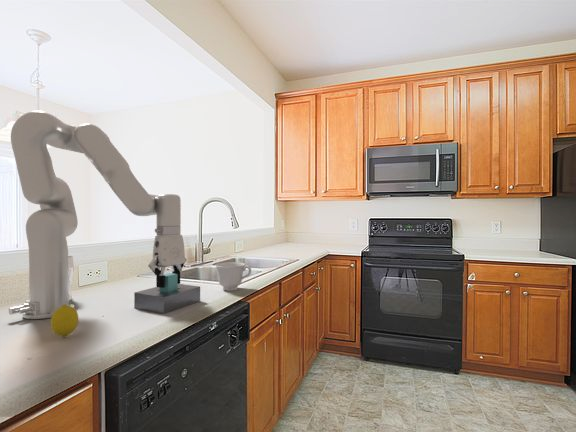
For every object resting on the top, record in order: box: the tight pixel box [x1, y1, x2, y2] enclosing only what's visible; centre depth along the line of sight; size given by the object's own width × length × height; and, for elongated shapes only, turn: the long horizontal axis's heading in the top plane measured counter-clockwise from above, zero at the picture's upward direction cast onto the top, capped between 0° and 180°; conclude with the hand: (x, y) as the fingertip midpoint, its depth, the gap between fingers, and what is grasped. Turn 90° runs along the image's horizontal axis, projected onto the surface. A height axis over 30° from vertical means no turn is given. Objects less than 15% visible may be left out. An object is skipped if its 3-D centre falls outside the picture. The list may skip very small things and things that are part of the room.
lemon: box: [50, 305, 79, 338], centre depth 78 cm, size 6×6×8 cm
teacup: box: [214, 261, 252, 292], centre depth 128 cm, size 12×15×10 cm
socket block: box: [133, 283, 201, 315], centre depth 107 cm, size 16×13×5 cm
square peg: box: [159, 272, 178, 292], centre depth 107 cm, size 4×4×10 cm
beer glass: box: [68, 255, 74, 302], centre depth 111 cm, size 7×7×15 cm
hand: (168, 284), depth 107 cm, fingers open, 6 cm apart
